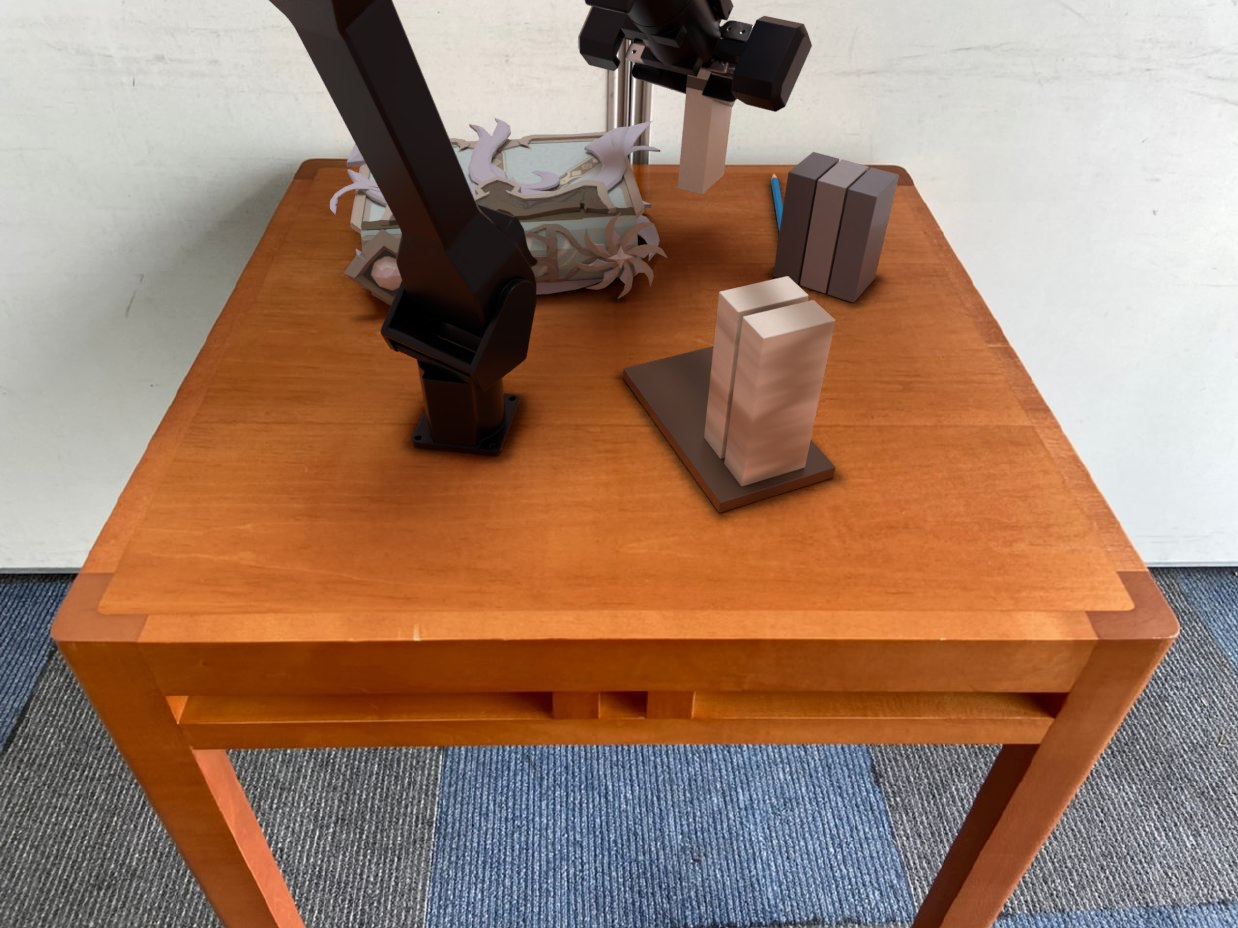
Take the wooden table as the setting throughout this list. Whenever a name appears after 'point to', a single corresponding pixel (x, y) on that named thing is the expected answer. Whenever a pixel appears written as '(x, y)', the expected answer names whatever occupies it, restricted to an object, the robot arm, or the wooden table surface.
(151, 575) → the wooden table surface
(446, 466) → the wooden table surface
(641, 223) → the ornate book
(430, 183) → the robot arm
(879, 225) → the grey books
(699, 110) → the white book
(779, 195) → the pencil
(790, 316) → the white book rack
